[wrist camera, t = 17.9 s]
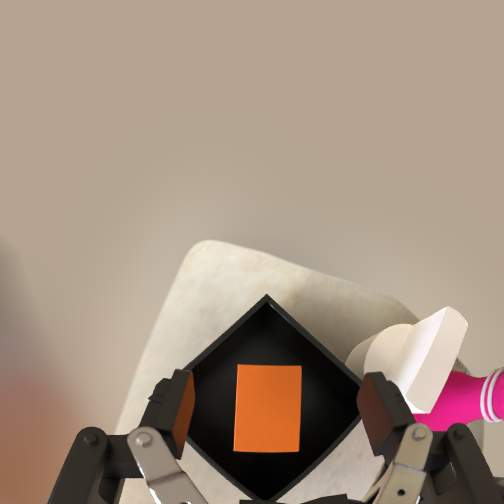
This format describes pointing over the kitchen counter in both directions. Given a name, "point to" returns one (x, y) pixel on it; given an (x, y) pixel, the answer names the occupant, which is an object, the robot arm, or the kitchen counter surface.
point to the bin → (312, 400)
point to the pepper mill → (466, 401)
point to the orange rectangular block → (268, 408)
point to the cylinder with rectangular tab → (413, 356)
